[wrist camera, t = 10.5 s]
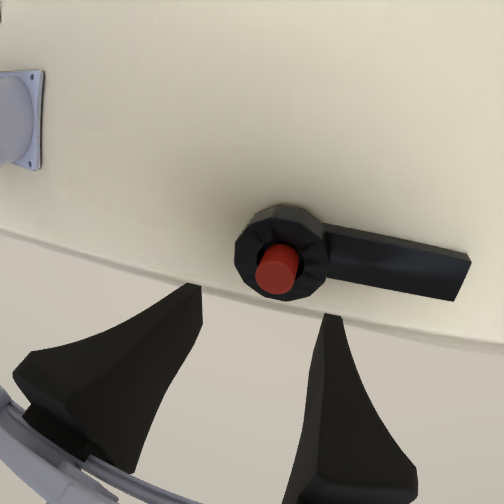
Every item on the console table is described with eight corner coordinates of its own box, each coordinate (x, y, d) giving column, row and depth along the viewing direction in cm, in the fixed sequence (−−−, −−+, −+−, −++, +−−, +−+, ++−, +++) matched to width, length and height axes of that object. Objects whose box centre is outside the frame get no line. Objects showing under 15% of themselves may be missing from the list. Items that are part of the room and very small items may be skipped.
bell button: (262, 270, 16) (253, 290, 15) (265, 240, 15) (256, 257, 14) (296, 277, 16) (291, 298, 15) (301, 246, 15) (296, 266, 14)
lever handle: (245, 266, 19) (232, 290, 17) (250, 193, 17) (236, 210, 15) (444, 305, 17) (453, 332, 15) (473, 239, 14) (488, 262, 12)
